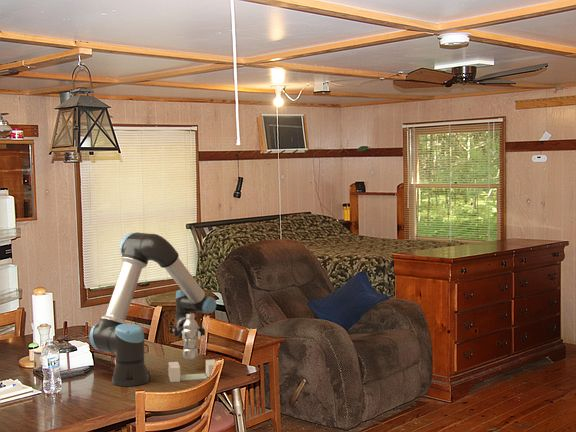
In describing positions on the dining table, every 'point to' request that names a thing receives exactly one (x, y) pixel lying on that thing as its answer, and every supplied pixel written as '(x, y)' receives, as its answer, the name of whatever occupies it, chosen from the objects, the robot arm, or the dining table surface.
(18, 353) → the dining table surface
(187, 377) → the gap mat
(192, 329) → the plastic bottle
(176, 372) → the gap blocks
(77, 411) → the dining table surface
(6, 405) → the dining table surface
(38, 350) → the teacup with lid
